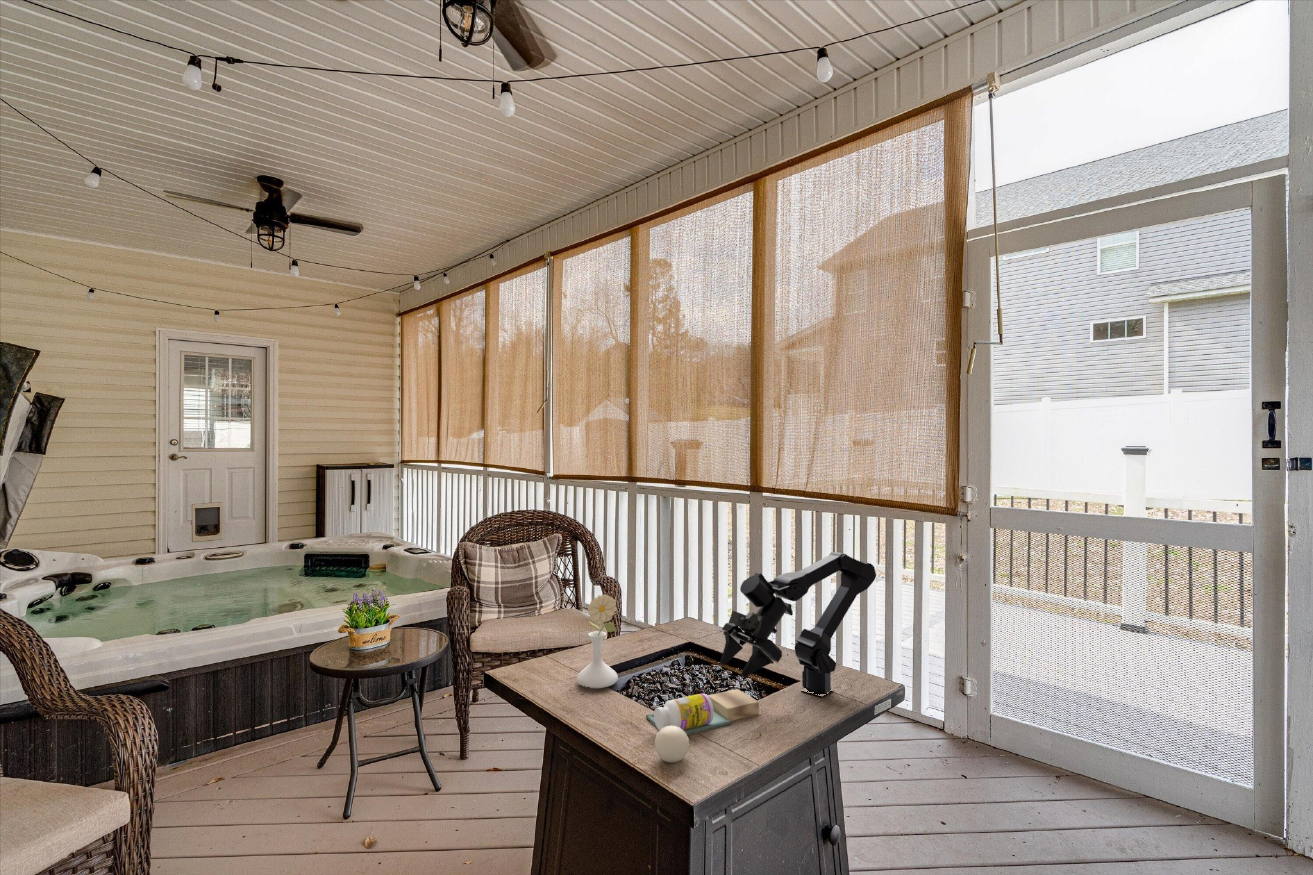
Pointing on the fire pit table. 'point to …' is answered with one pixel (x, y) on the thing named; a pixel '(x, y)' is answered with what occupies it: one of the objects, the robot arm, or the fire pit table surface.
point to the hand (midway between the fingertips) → (731, 669)
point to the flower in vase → (599, 645)
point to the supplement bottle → (685, 712)
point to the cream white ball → (671, 744)
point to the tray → (716, 722)
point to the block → (734, 705)
